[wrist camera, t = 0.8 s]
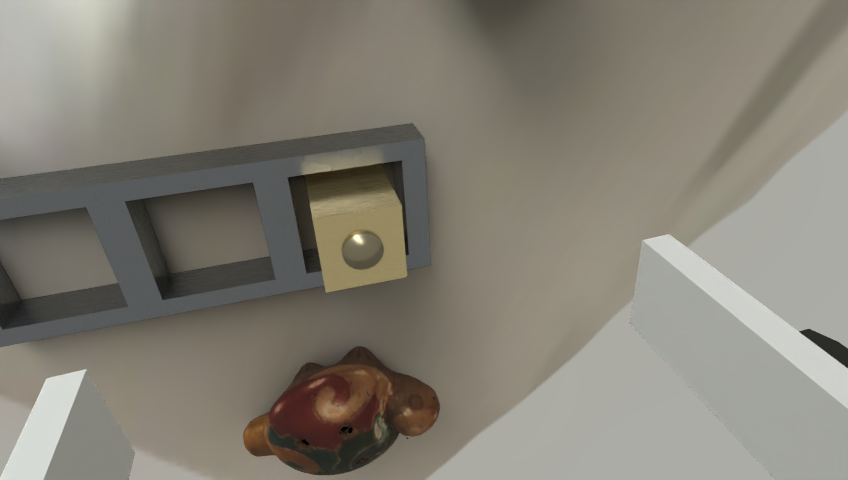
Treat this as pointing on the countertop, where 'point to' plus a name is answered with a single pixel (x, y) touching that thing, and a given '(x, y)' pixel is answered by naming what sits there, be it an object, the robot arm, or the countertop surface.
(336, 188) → the beige framed knobbed block
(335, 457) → the decorative turtle
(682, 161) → the countertop surface
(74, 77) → the countertop surface
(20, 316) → the rack
